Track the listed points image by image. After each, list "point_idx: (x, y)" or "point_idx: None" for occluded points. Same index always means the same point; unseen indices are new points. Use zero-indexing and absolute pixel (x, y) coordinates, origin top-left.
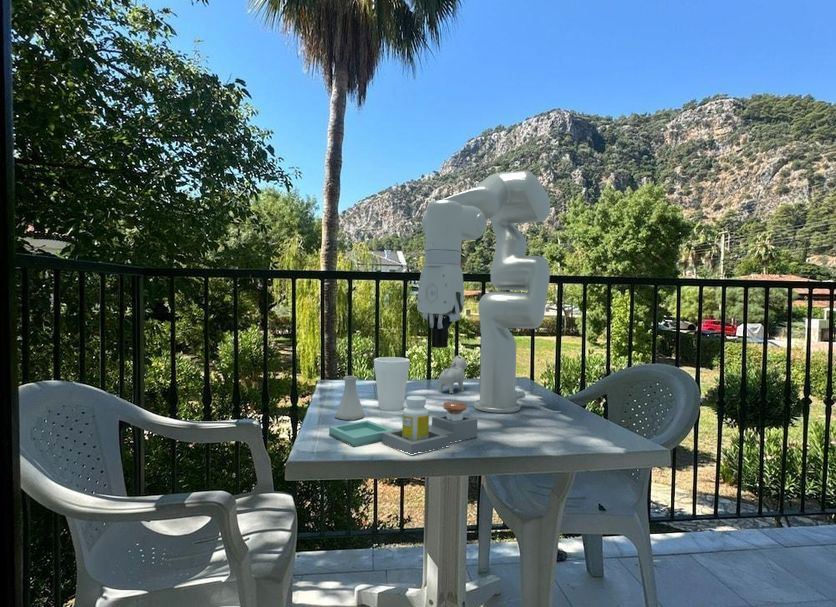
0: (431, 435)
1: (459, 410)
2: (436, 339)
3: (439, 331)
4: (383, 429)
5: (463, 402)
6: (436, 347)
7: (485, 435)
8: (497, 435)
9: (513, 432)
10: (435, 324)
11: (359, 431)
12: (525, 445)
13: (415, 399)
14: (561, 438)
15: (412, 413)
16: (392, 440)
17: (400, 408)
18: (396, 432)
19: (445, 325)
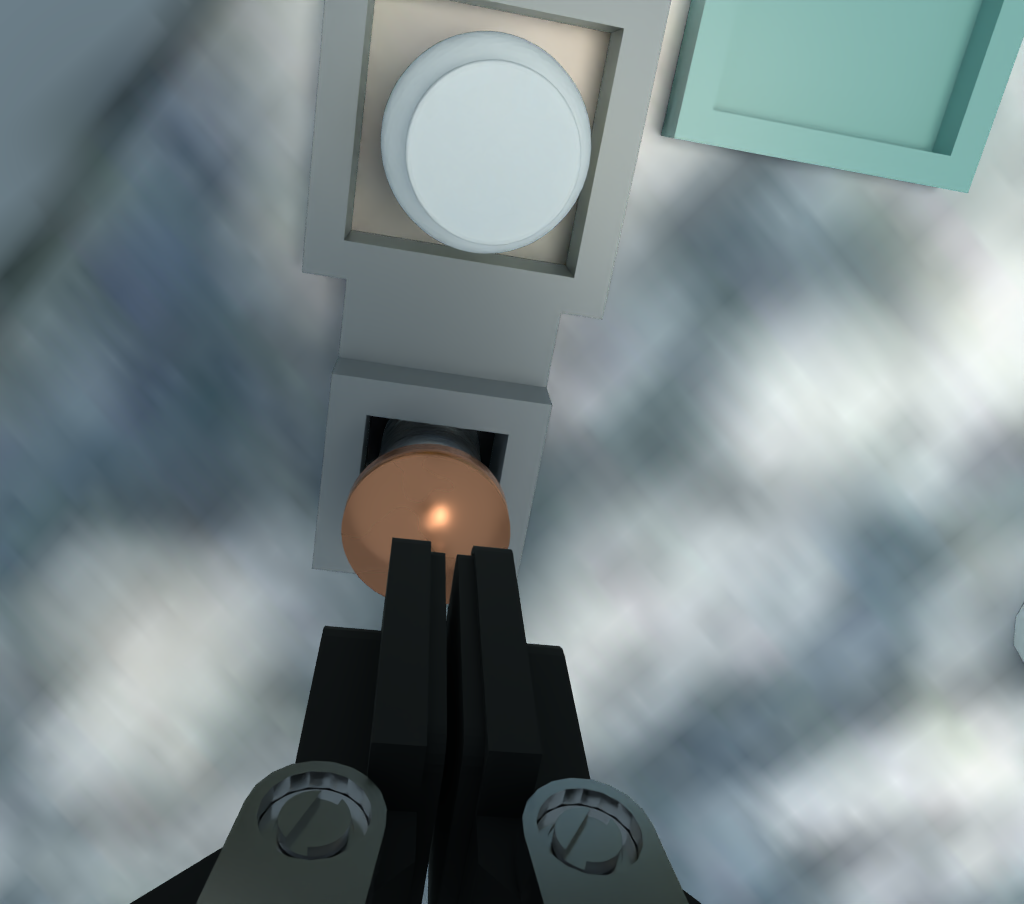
0: (436, 251)
1: (353, 485)
2: (390, 601)
3: (368, 756)
4: (755, 118)
5: None
6: (402, 541)
7: (322, 577)
8: (279, 621)
9: (259, 716)
10: (517, 888)
11: (908, 36)
12: (59, 583)
13: (449, 95)
14: (33, 793)
15: (437, 44)
16: None
17: (1019, 634)
18: (610, 86)
19: (182, 890)
